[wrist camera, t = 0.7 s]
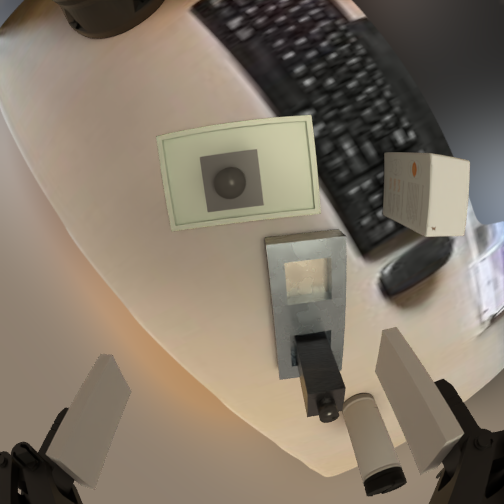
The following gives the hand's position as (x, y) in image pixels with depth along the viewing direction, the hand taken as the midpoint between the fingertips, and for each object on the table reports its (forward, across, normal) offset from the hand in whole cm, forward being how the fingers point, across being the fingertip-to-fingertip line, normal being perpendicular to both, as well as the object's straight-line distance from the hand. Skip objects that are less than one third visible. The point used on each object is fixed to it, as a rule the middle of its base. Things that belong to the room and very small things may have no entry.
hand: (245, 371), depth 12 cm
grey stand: (+22, +6, -11) cm, 26 cm away
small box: (+23, +20, +4) cm, 31 cm away
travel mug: (+22, +16, -34) cm, 43 cm away
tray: (+23, 0, +7) cm, 24 cm away
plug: (+22, 0, +7) cm, 23 cm away
